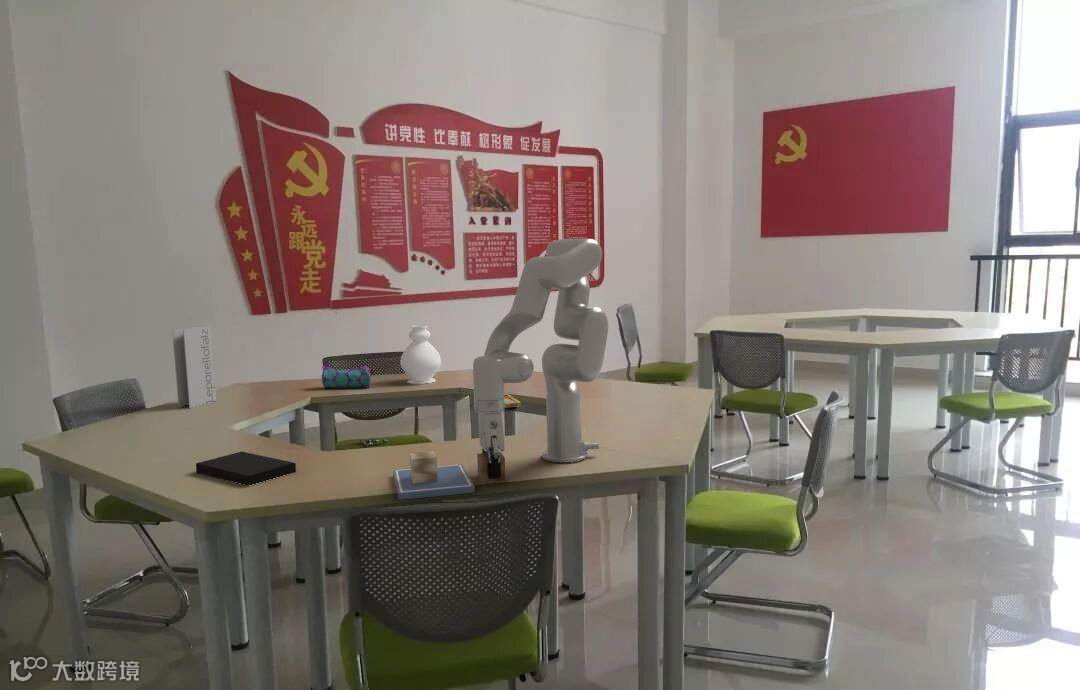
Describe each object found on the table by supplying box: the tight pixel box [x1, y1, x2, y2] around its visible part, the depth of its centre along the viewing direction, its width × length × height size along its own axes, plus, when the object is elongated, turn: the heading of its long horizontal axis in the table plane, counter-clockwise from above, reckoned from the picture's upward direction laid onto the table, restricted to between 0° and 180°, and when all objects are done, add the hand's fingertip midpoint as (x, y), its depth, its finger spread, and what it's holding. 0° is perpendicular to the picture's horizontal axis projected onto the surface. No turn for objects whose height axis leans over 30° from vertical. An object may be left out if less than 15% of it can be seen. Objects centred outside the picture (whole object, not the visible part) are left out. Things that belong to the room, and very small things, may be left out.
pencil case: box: [321, 365, 374, 389], centre depth 331 cm, size 21×9×10 cm, turn 92°
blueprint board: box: [392, 463, 475, 501], centre depth 192 cm, size 18×20×2 cm
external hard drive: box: [195, 451, 297, 486], centre depth 206 cm, size 14×23×3 cm, turn 56°
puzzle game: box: [504, 392, 522, 412], centre depth 282 cm, size 12×5×20 cm
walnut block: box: [477, 451, 507, 484], centre depth 196 cm, size 6×6×6 cm
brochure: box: [171, 325, 217, 409], centre depth 300 cm, size 14×6×30 cm, turn 161°
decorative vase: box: [399, 324, 442, 385], centre depth 341 cm, size 18×18×25 cm
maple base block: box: [409, 450, 438, 483], centre depth 191 cm, size 6×6×6 cm
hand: (491, 473), depth 196 cm, fingers open, 7 cm apart
